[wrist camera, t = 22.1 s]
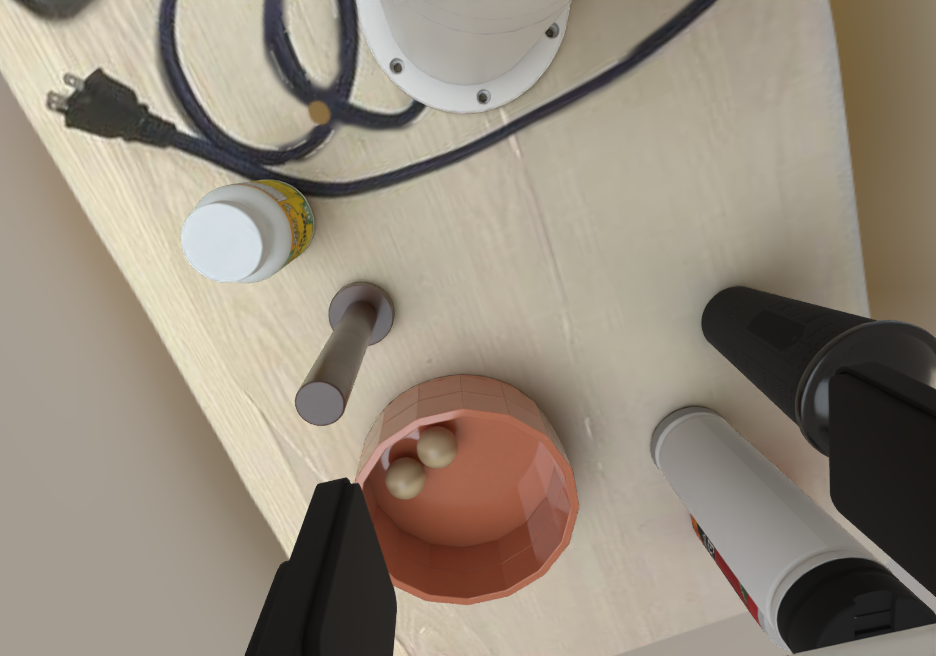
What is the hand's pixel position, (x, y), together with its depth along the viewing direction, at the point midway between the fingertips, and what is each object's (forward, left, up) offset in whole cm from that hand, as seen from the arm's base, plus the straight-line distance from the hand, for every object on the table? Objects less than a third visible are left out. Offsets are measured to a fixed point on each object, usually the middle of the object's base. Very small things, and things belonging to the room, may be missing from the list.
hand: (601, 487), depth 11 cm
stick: (+2, -9, -28) cm, 30 cm away
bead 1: (+15, -9, -26) cm, 31 cm away
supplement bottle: (-5, -13, -28) cm, 32 cm away
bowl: (+16, -5, -28) cm, 33 cm away
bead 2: (+13, -6, -26) cm, 30 cm away
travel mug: (+18, +13, -28) cm, 36 cm away
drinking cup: (+9, +17, -28) cm, 34 cm away
